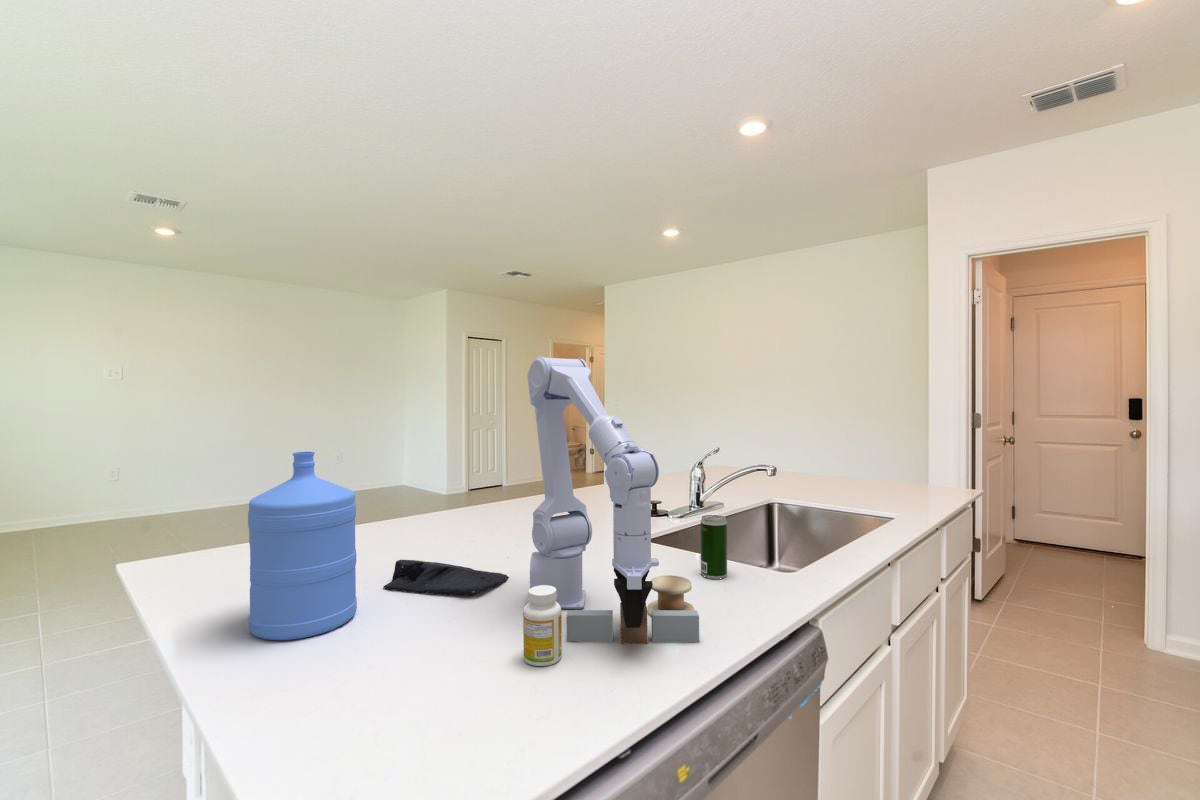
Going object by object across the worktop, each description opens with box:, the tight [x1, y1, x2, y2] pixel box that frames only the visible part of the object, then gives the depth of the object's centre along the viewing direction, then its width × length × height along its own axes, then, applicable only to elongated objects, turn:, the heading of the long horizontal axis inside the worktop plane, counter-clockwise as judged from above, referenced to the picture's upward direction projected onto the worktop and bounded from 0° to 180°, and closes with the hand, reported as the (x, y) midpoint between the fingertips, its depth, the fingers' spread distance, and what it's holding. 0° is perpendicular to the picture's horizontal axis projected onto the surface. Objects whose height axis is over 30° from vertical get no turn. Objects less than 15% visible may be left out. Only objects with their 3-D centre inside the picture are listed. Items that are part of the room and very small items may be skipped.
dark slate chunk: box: [382, 559, 510, 597], centre depth 107 cm, size 15×22×5 cm
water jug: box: [247, 451, 358, 641], centre depth 89 cm, size 16×16×28 cm
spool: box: [646, 574, 696, 618], centre depth 92 cm, size 8×8×5 cm
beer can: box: [700, 514, 728, 580], centre depth 111 cm, size 5×5×12 cm
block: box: [619, 601, 648, 645], centre depth 82 cm, size 4×4×5 cm
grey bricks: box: [566, 609, 700, 643], centre depth 82 cm, size 20×2×4 cm, turn 89°
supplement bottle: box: [522, 585, 563, 667], centre depth 76 cm, size 5×5×10 cm
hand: (632, 619), depth 82 cm, fingers open, 4 cm apart
